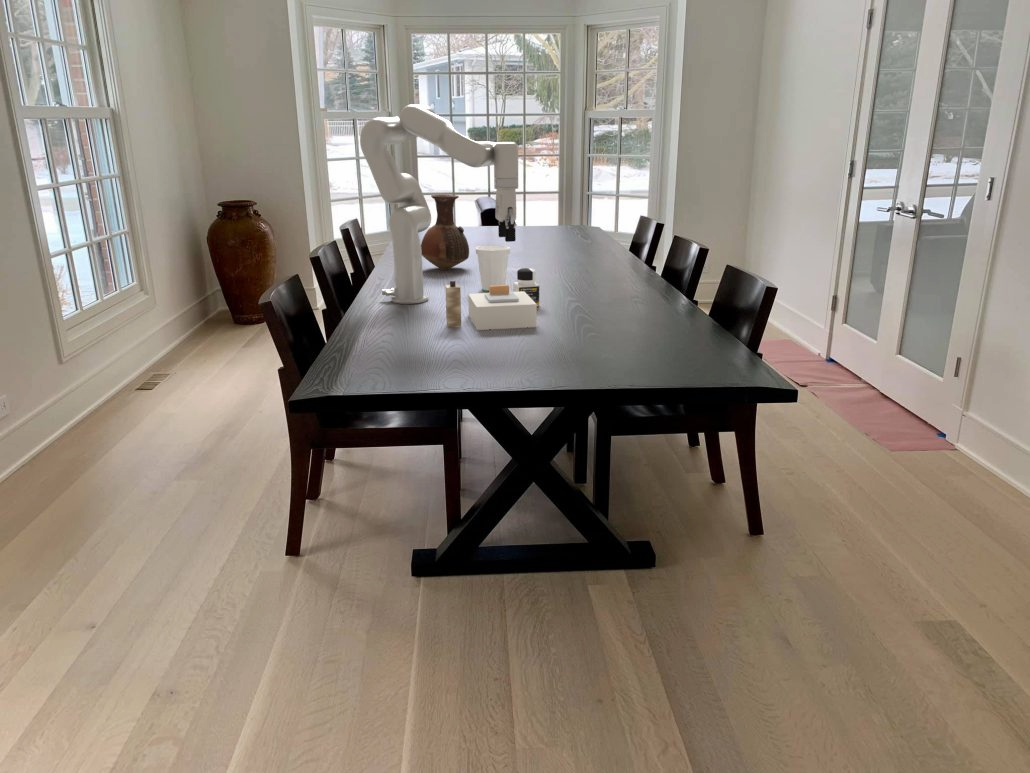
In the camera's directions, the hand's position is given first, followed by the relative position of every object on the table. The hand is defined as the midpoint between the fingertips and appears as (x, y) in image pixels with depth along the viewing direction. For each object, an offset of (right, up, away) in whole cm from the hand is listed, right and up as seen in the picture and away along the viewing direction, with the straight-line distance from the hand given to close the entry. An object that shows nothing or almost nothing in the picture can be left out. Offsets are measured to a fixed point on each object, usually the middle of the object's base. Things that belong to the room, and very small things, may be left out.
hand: (506, 239), depth 239 cm
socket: (-2, -27, -7) cm, 28 cm away
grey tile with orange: (-2, -20, -10) cm, 22 cm away
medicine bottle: (+6, -20, +13) cm, 25 cm away
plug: (-16, -28, -12) cm, 35 cm away
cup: (-5, -12, +35) cm, 37 cm away
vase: (-26, +1, +72) cm, 76 cm away
